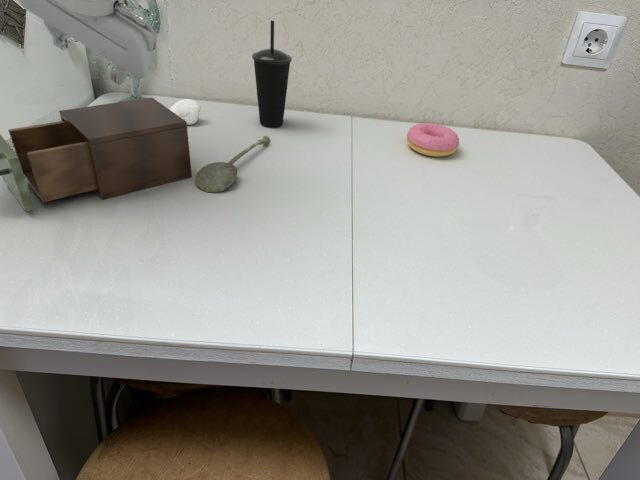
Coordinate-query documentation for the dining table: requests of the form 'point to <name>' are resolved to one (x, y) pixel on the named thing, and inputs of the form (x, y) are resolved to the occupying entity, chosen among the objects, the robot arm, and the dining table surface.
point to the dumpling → (187, 110)
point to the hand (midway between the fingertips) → (90, 63)
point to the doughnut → (432, 139)
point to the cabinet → (132, 144)
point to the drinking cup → (271, 83)
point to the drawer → (46, 163)
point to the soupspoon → (222, 171)
